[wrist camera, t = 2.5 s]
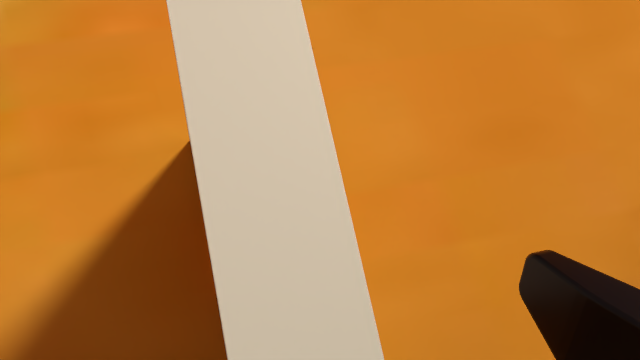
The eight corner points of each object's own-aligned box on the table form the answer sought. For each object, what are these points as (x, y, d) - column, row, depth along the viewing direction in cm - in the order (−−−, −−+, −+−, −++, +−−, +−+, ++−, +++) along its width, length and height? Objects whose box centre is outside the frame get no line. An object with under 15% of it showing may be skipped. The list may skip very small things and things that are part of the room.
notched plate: (295, 336, 18) (386, 367, 8) (226, 353, 18) (236, 407, 8) (254, 130, 20) (289, -48, 10) (189, 139, 19) (159, -40, 10)
